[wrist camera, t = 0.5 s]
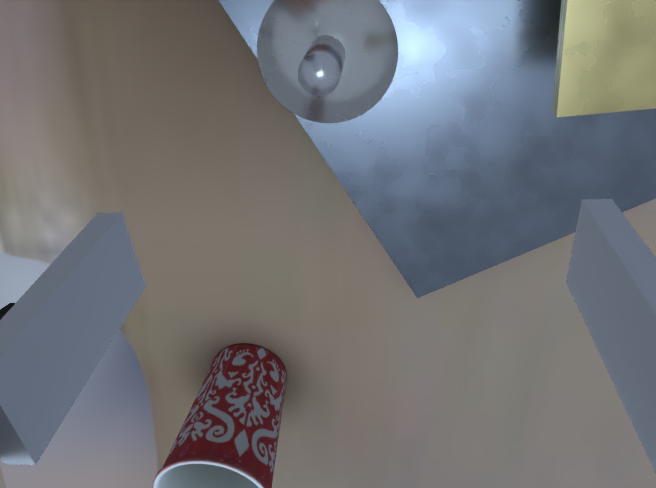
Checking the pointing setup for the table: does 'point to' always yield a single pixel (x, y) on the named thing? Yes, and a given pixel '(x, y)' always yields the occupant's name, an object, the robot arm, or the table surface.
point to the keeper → (605, 57)
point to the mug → (230, 424)
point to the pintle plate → (450, 126)
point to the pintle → (322, 66)
